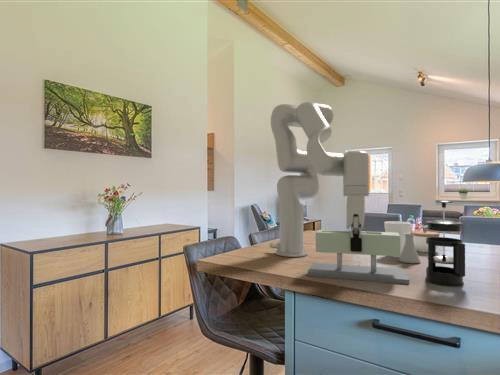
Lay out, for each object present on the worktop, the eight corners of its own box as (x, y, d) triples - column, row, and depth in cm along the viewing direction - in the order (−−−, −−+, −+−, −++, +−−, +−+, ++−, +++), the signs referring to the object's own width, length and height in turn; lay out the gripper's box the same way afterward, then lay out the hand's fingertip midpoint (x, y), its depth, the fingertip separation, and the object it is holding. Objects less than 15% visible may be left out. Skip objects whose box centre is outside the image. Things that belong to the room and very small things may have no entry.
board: (307, 275, 100) (307, 246, 100) (313, 266, 112) (313, 239, 112) (409, 284, 91) (409, 251, 91) (403, 272, 104) (403, 243, 104)
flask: (423, 264, 115) (423, 235, 115) (401, 263, 116) (401, 235, 116) (417, 260, 122) (417, 232, 122) (396, 259, 123) (396, 232, 123)
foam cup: (414, 255, 129) (414, 222, 129) (406, 259, 123) (406, 224, 123) (389, 252, 136) (389, 220, 136) (380, 255, 129) (380, 222, 129)
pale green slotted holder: (315, 251, 102) (315, 232, 102) (318, 247, 109) (318, 229, 109) (400, 256, 95) (400, 235, 95) (397, 252, 101) (397, 232, 101)
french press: (416, 277, 98) (416, 200, 98) (443, 275, 100) (443, 199, 100) (447, 289, 87) (447, 201, 87) (477, 287, 88) (477, 201, 88)
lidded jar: (445, 253, 133) (445, 230, 133) (418, 253, 134) (418, 230, 134) (430, 248, 144) (430, 227, 144) (406, 248, 144) (406, 227, 144)
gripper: (344, 191, 111) (344, 244, 111) (341, 191, 95) (342, 253, 95) (368, 191, 109) (368, 245, 109) (369, 191, 92) (370, 255, 92)
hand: (356, 248), depth 102 cm, fingers closed on pale green slotted holder, 7 cm apart
